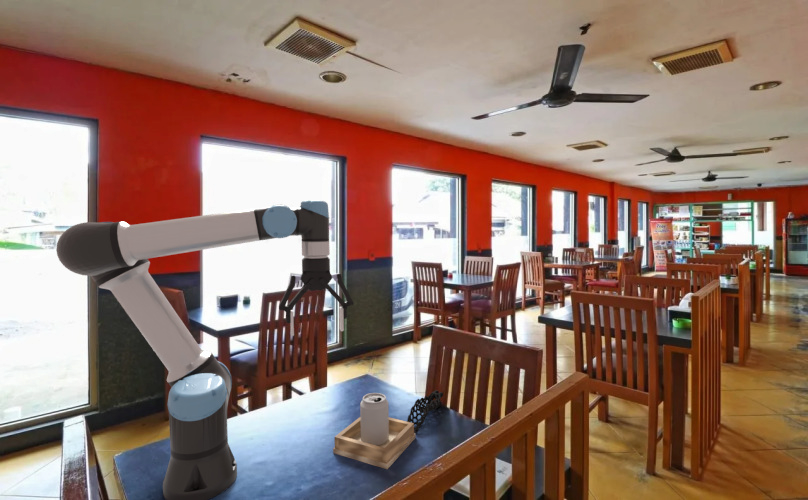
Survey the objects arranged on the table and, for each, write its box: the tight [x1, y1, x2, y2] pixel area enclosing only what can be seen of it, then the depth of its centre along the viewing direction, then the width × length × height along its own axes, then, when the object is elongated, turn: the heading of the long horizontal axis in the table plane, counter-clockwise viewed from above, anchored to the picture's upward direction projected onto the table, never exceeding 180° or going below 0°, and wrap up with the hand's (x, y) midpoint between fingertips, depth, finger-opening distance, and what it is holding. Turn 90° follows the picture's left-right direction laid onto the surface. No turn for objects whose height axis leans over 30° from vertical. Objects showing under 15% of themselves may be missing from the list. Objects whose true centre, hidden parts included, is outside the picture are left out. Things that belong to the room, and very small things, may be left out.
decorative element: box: [406, 389, 444, 434], centre depth 124 cm, size 22×5×6 cm, turn 155°
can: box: [359, 392, 390, 446], centre depth 107 cm, size 8×8×12 cm
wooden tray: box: [332, 416, 416, 470], centre depth 107 cm, size 16×16×4 cm
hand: (317, 332), depth 113 cm, fingers open, 13 cm apart
